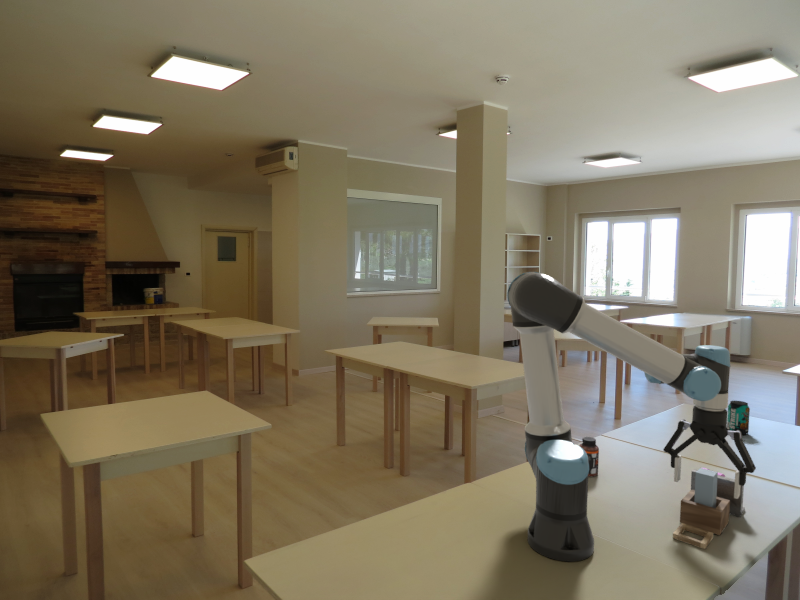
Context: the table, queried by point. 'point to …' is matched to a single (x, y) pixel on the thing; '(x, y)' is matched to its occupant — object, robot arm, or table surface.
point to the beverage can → (738, 416)
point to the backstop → (726, 493)
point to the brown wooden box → (705, 514)
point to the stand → (702, 544)
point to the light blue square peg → (706, 487)
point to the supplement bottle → (591, 454)
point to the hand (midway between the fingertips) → (706, 488)
